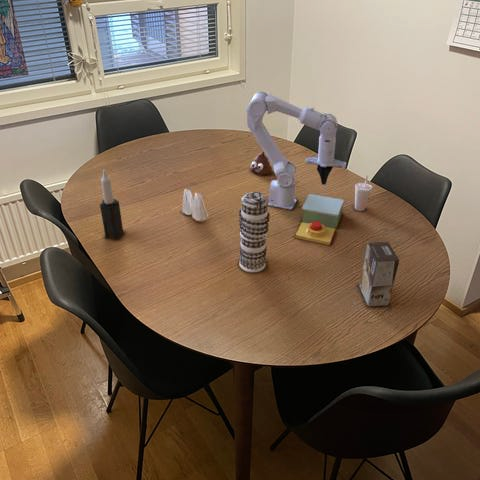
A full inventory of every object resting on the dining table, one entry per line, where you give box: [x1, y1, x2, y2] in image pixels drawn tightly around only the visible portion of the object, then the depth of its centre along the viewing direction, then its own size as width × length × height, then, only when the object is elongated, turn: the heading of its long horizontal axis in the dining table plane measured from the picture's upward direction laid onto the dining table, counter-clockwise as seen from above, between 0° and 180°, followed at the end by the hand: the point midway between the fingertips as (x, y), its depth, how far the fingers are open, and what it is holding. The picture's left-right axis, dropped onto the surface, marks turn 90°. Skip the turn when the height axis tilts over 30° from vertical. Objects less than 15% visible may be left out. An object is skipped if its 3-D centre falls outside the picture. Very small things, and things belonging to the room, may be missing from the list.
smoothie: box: [354, 175, 373, 212], centre depth 174 cm, size 6×6×14 cm
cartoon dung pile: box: [249, 151, 273, 176], centre depth 201 cm, size 10×8×9 cm
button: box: [311, 221, 322, 231], centre depth 160 cm, size 4×4×2 cm
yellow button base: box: [295, 222, 336, 246], centre depth 162 cm, size 12×9×3 cm
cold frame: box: [301, 203, 344, 230], centre depth 170 cm, size 12×11×5 cm
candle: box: [99, 169, 124, 241], centre depth 154 cm, size 5×5×25 cm
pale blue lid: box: [301, 193, 345, 216], centre depth 169 cm, size 13×11×1 cm
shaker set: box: [181, 188, 210, 223], centre depth 168 cm, size 12×4×11 cm, turn 40°
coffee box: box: [359, 241, 400, 307], centre depth 132 cm, size 9×6×16 cm
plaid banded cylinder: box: [238, 191, 271, 273], centre depth 141 cm, size 9×9×25 cm
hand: (323, 183), depth 173 cm, fingers closed
